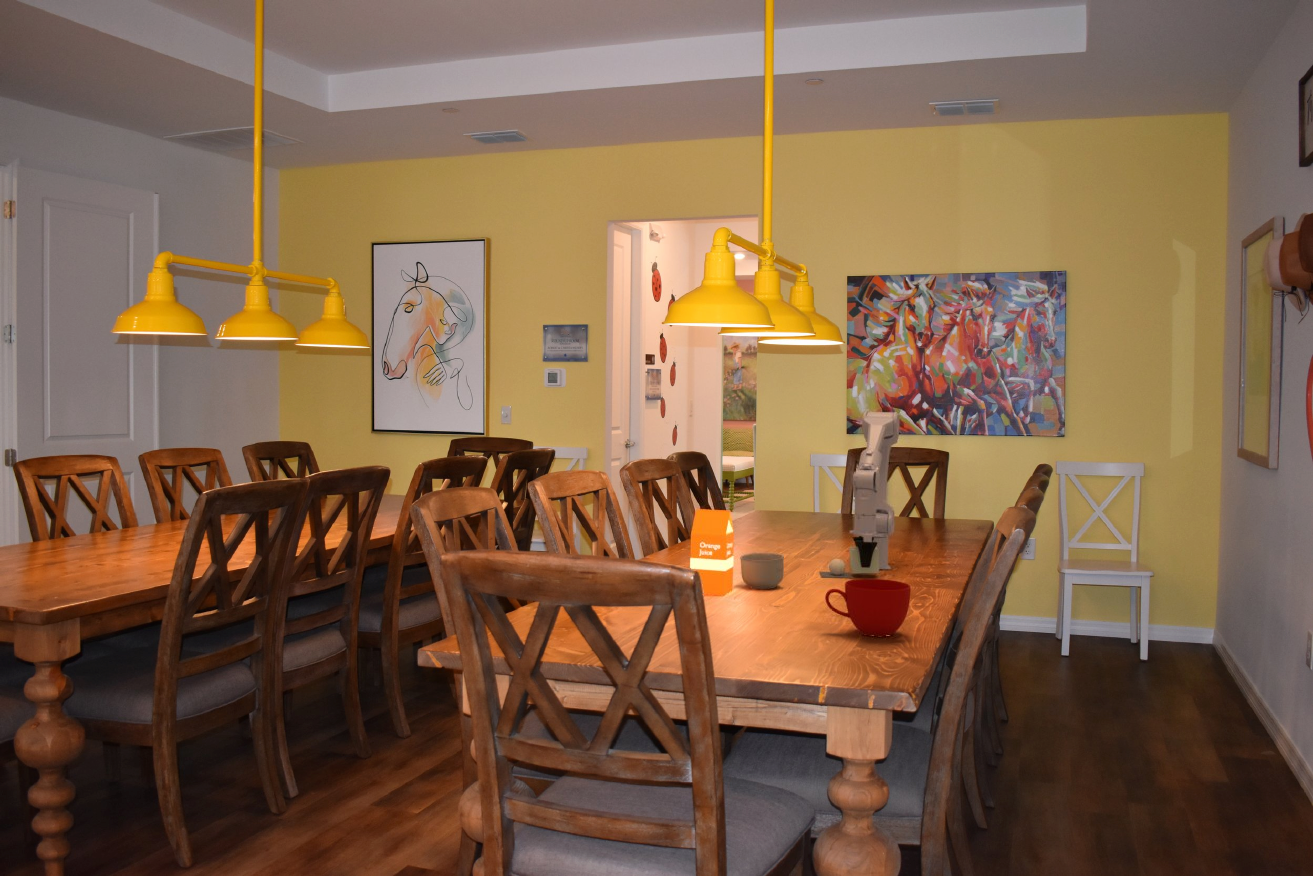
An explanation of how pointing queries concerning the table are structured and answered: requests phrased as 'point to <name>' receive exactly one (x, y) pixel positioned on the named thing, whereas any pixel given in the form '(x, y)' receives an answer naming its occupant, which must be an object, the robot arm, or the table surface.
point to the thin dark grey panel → (830, 575)
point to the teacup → (762, 569)
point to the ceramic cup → (874, 605)
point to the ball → (837, 567)
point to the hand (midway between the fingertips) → (864, 565)
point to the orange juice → (713, 550)
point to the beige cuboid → (856, 564)
